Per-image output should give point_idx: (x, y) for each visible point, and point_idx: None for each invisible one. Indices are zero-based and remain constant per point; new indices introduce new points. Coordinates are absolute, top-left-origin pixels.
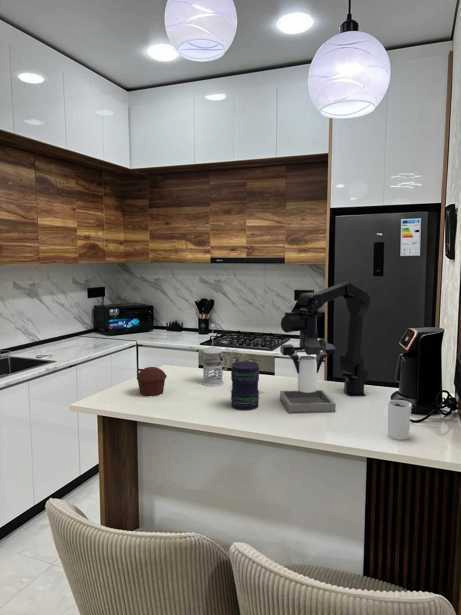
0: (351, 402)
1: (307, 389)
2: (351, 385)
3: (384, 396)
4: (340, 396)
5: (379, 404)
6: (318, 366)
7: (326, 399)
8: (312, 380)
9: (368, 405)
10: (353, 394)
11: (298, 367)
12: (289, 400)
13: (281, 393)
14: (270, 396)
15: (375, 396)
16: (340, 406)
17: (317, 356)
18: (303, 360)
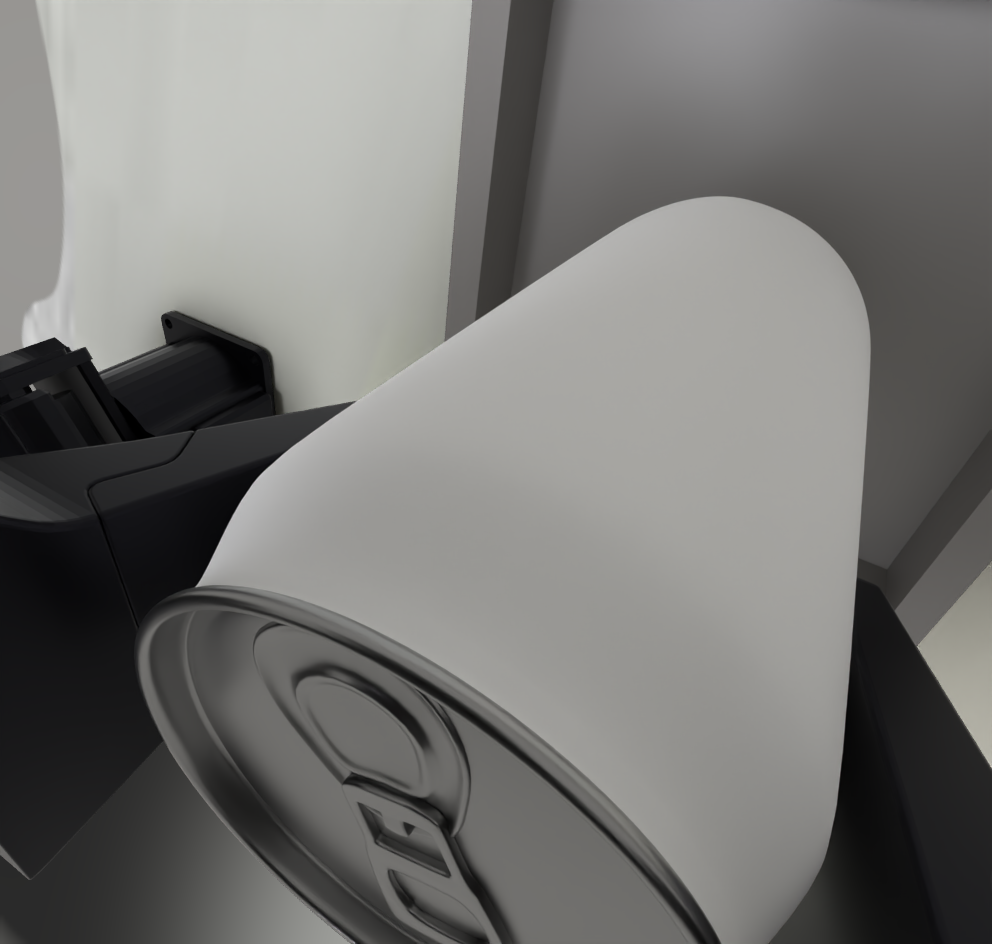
0: (287, 198)
1: (783, 226)
2: (187, 399)
3: (70, 248)
4: (329, 379)
5: (101, 62)
6: (286, 437)
7: (500, 206)
8: (633, 244)
9: (176, 59)
10: (233, 349)
11: (892, 703)
12: (879, 471)
13: (956, 596)
14: (949, 692)
15: (117, 272)
16: (409, 108)
17: (87, 713)
18: (706, 838)
